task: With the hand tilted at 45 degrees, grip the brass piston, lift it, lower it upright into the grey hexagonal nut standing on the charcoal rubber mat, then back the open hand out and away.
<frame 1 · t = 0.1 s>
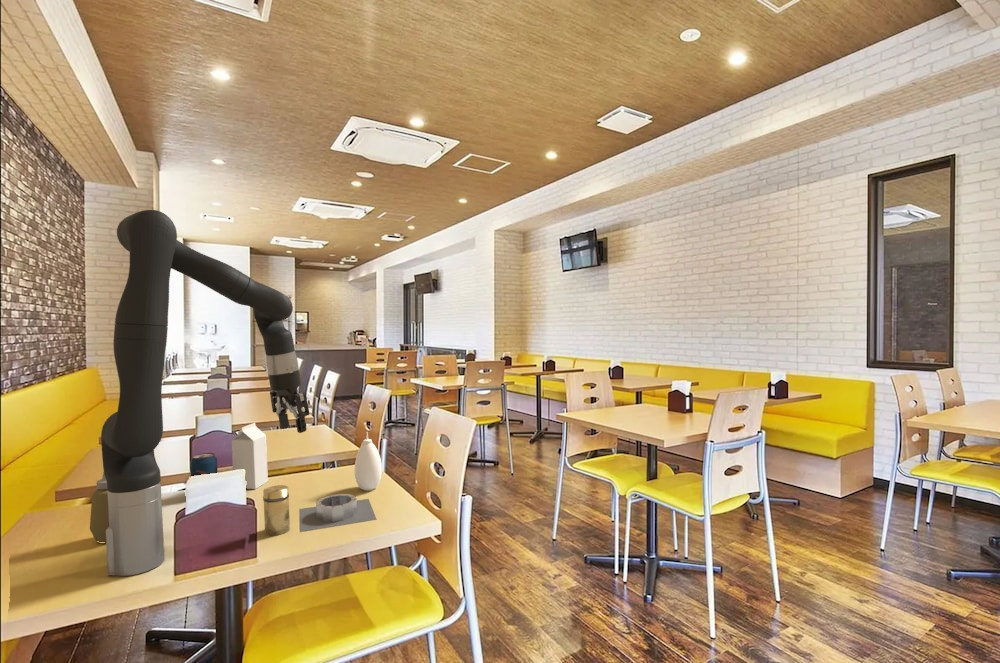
hand: (293, 430, 137), 22 cm above the table, tool pointing down, fingers open, 8 cm apart
soda can: (205, 496, 153), on the table
squeeze bottle: (111, 539, 124), on the table
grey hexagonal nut: (336, 514, 134), resting on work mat
sauce bottle: (369, 491, 154), on the table
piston: (277, 534, 124), on the table
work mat: (337, 517, 134), on the table
milk carton: (251, 486, 161), on the table
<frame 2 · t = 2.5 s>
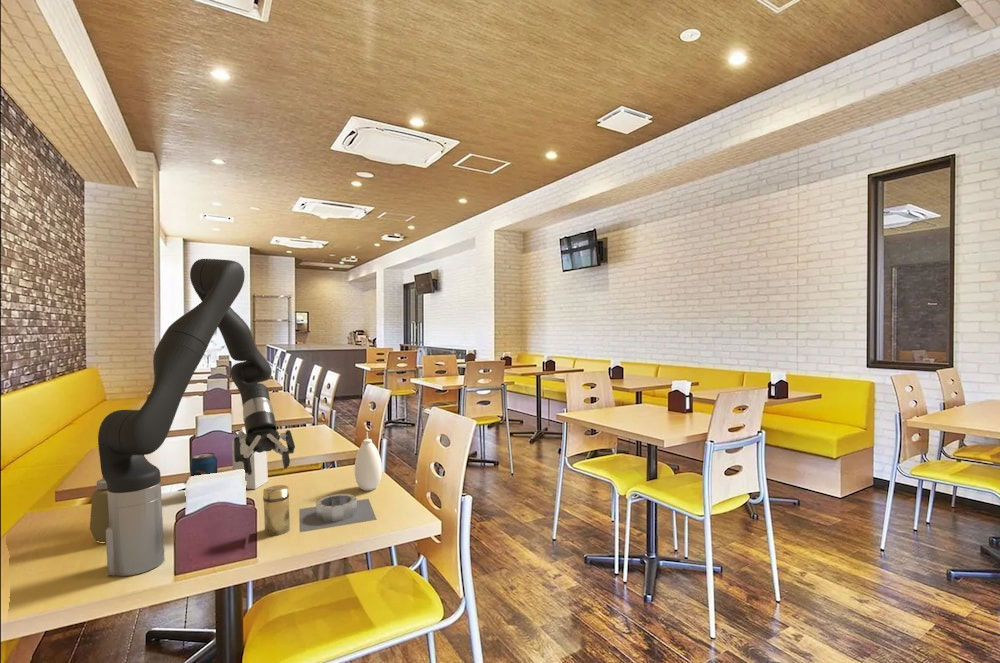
hand: (268, 470, 132), 13 cm above the table, tool tilted 45°, fingers open, 8 cm apart
nothing on the table moved.
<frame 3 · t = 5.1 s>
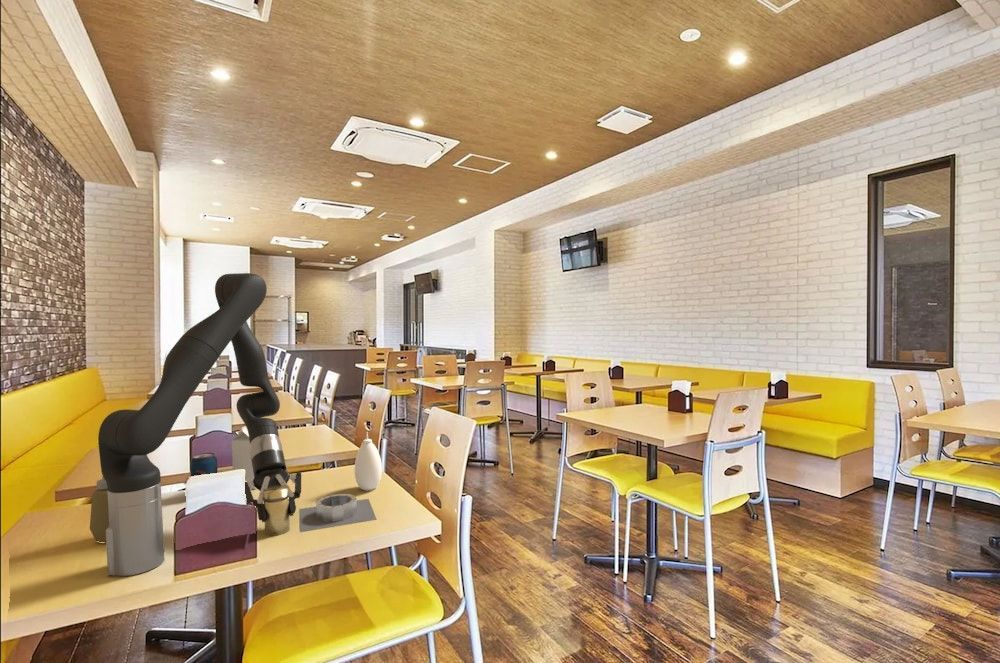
hand: (278, 517, 123), 5 cm above the table, tool tilted 45°, fingers closed on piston, 5 cm apart
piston: (277, 534, 124), on the table, touching gripper
everything else where it was.
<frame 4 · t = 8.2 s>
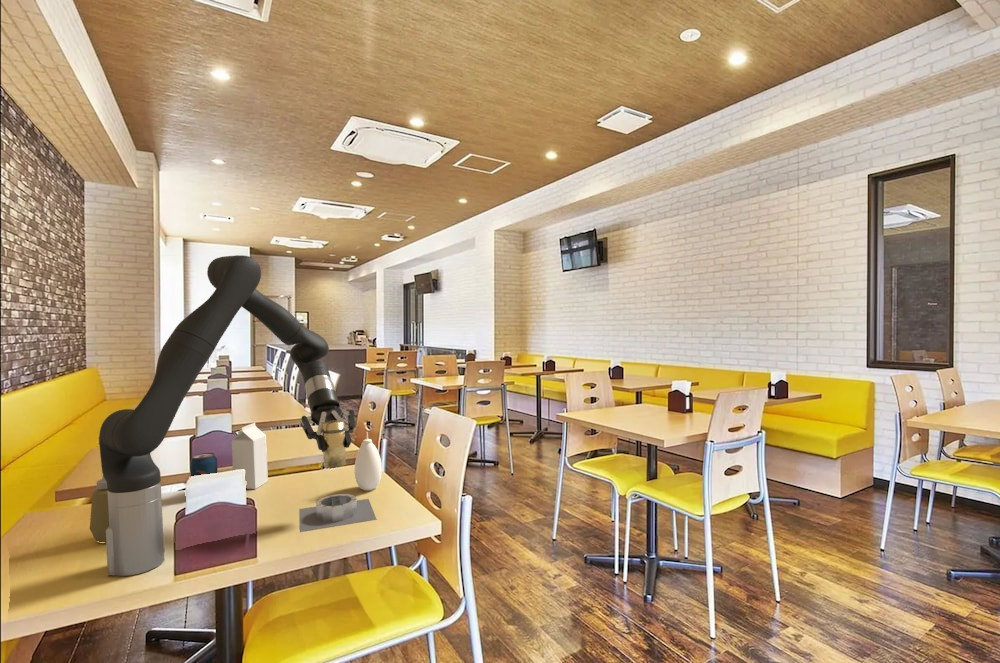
hand: (336, 447, 132), 18 cm above the table, tool tilted 45°, fingers closed on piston, 5 cm apart
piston: (334, 464, 134), point 14 cm above the table, touching gripper
everything else where it was.
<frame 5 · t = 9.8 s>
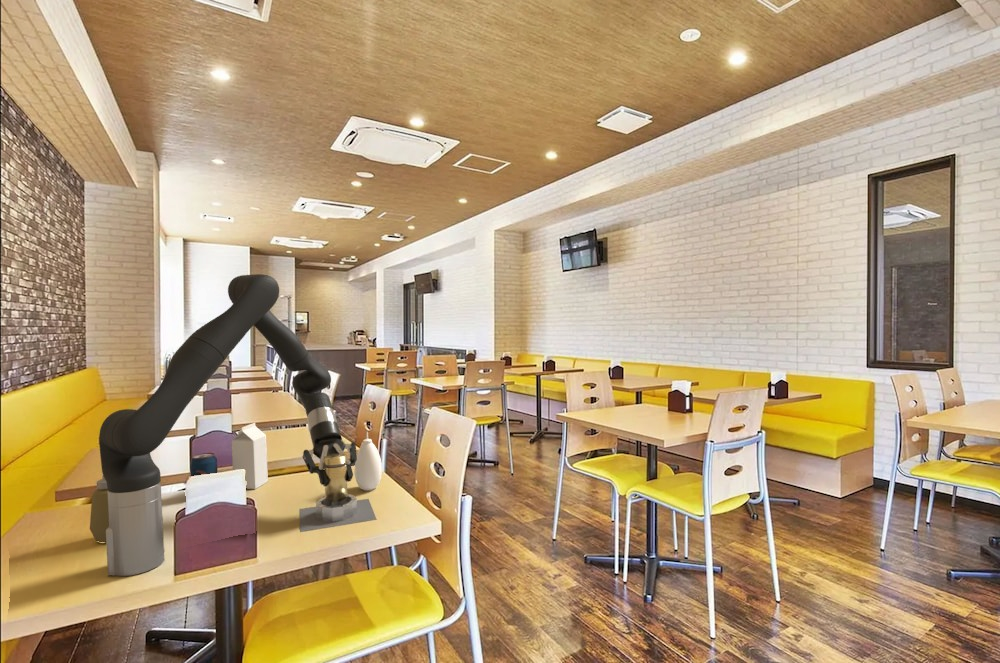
hand: (338, 482, 132), 10 cm above the table, tool tilted 45°, fingers closed on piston, 5 cm apart
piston: (336, 498, 134), point 5 cm above the table, touching gripper
everything else where it was.
when the fingers open (7 cm above the table, at t = 10.9 s): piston drops 1 cm, resting on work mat.
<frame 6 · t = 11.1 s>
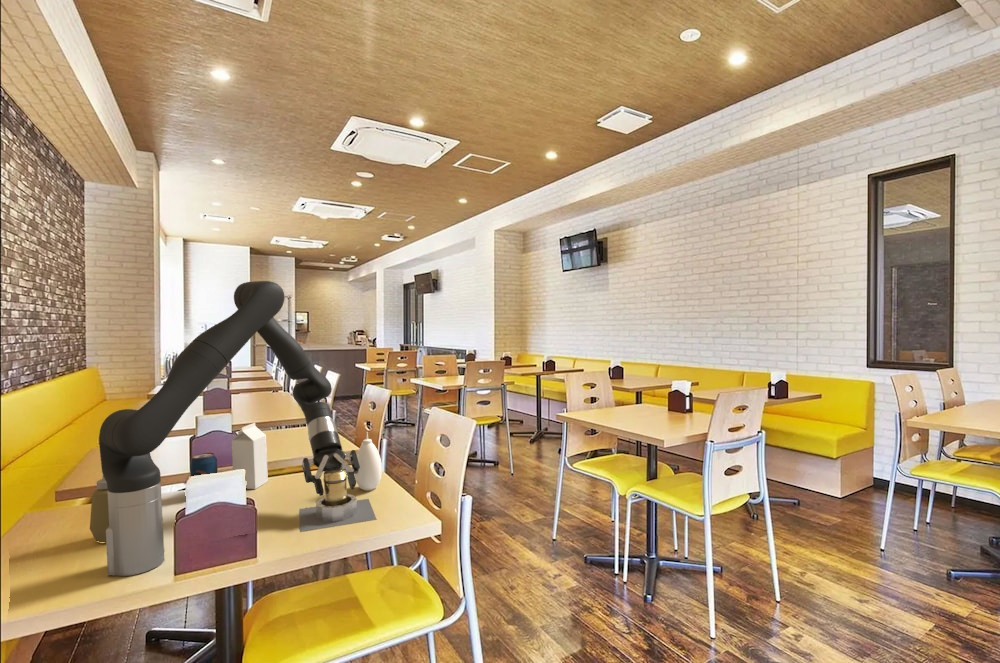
hand: (337, 490, 133), 7 cm above the table, tool tilted 45°, fingers open, 7 cm apart
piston: (336, 514, 134), point 1 cm above the table, touching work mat
everything else where it was.
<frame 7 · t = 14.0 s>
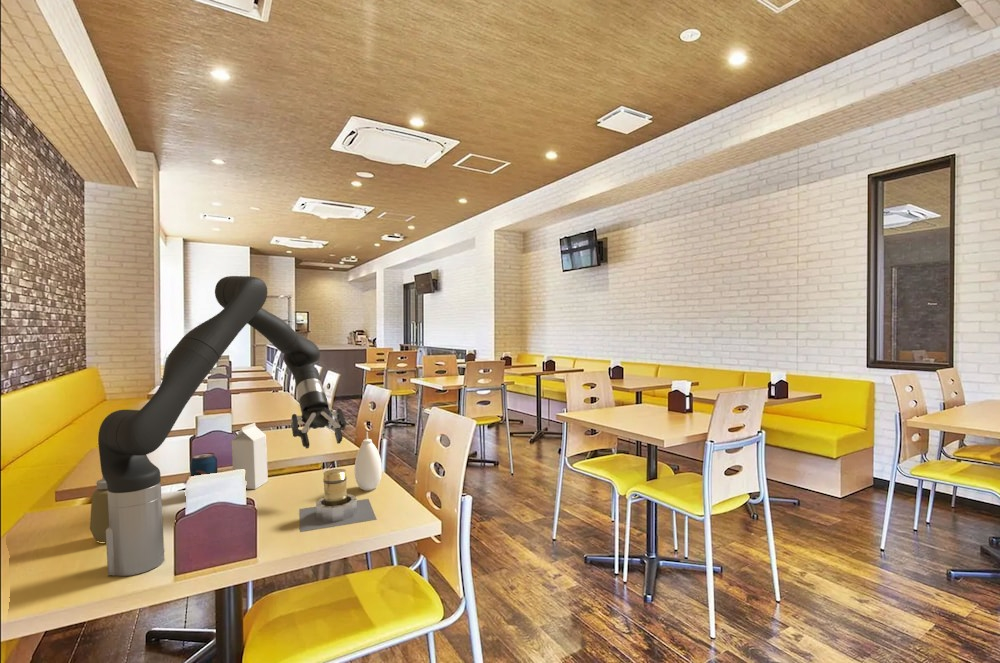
hand: (323, 444, 143), 17 cm above the table, tool tilted 45°, fingers open, 8 cm apart
nothing on the table moved.
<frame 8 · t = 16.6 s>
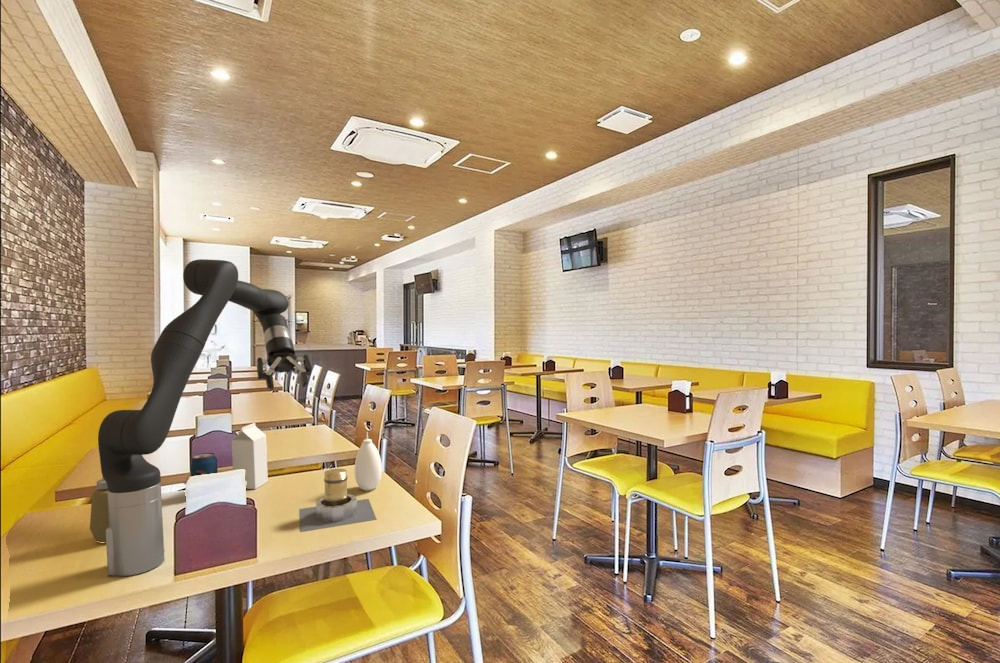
hand: (288, 386, 145), 33 cm above the table, tool tilted 45°, fingers open, 8 cm apart
nothing on the table moved.
at the end: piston 0.1 cm off-centre on the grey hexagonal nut, point 0.0 cm above the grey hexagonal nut's base; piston tilted 1°; the gripper is holding nothing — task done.
